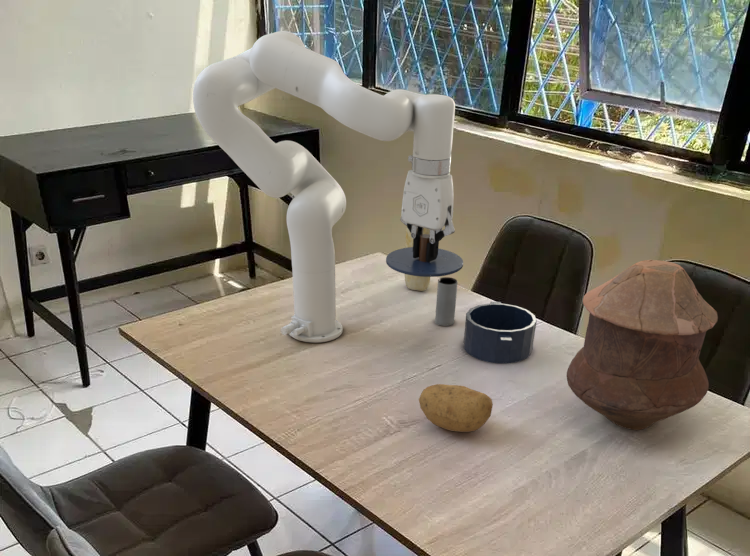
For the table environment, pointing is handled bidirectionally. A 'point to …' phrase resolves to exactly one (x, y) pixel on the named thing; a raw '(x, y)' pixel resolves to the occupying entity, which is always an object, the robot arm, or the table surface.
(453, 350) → the table surface
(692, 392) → the pottery vessel
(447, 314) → the grey tube
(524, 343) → the pot
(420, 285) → the food model
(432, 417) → the potato
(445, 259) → the lid
